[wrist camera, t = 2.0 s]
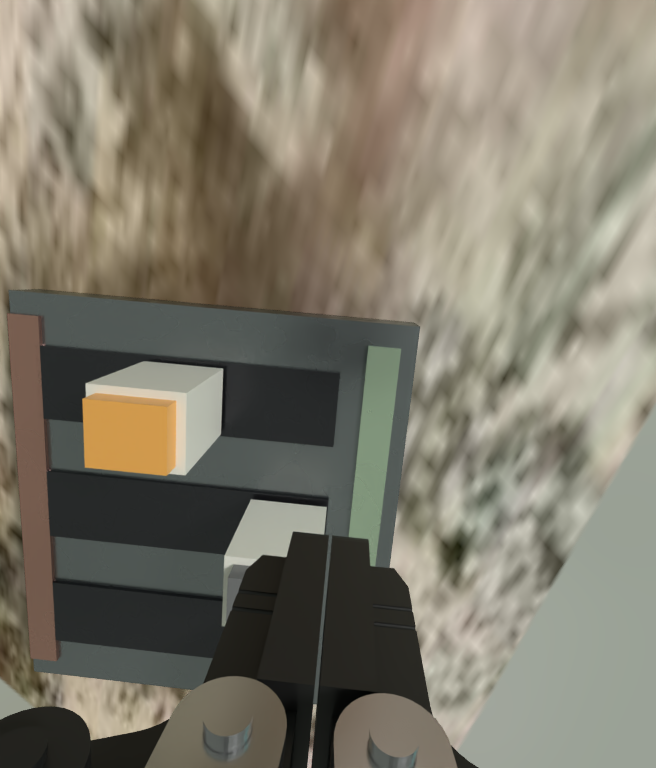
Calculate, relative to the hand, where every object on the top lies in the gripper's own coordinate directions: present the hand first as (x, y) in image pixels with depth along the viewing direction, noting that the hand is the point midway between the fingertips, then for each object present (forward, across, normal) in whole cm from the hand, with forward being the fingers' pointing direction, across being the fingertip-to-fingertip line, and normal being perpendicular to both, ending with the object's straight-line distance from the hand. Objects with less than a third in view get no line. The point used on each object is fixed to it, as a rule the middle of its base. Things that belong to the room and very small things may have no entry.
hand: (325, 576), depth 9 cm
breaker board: (+14, +6, +6) cm, 16 cm away
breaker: (+11, +2, +6) cm, 13 cm away
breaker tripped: (+11, +7, 0) cm, 13 cm away
